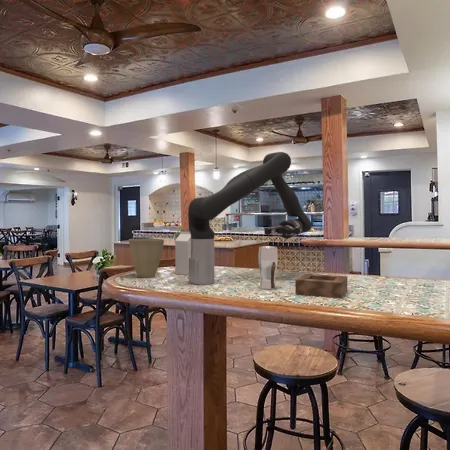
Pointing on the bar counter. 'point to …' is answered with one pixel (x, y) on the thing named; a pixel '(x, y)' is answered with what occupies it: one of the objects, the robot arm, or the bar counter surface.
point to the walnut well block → (321, 285)
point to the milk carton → (182, 253)
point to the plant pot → (146, 256)
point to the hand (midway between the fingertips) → (277, 232)
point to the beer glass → (268, 266)
